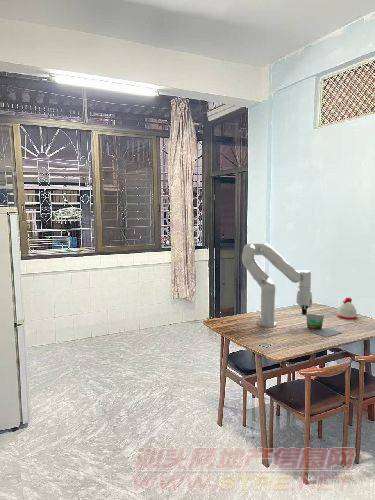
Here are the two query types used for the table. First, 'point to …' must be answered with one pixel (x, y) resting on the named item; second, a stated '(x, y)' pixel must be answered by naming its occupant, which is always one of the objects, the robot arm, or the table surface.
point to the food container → (314, 321)
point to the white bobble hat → (347, 310)
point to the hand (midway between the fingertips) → (304, 314)
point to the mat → (326, 332)
